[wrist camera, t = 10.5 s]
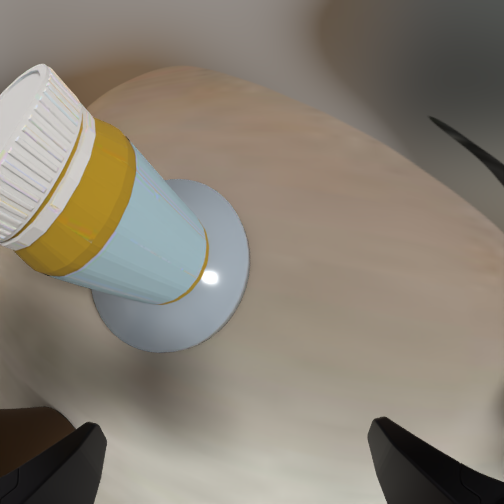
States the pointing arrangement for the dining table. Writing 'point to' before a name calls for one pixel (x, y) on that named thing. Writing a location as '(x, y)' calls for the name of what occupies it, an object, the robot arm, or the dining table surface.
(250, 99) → the dining table surface
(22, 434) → the olive oil
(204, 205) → the stand
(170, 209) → the bottle
